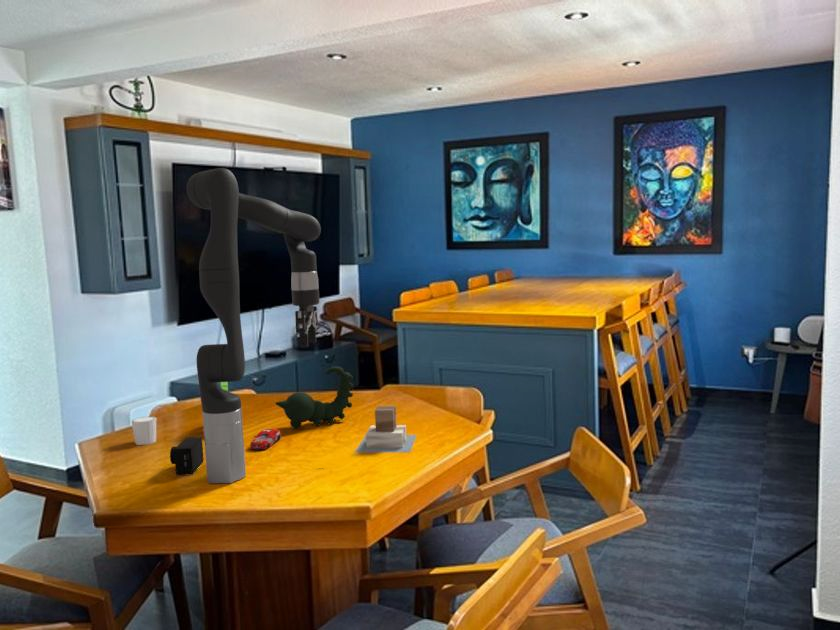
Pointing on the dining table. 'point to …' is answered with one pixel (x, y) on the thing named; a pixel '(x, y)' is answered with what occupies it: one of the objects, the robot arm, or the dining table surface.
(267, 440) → the race car
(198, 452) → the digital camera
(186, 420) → the dining table surface
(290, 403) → the toy figurine
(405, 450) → the mat
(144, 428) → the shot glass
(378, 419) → the walnut block
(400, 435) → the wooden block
